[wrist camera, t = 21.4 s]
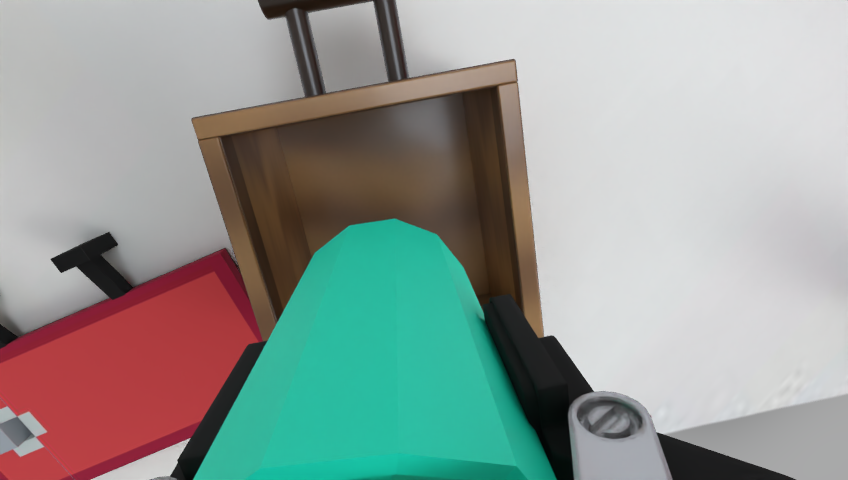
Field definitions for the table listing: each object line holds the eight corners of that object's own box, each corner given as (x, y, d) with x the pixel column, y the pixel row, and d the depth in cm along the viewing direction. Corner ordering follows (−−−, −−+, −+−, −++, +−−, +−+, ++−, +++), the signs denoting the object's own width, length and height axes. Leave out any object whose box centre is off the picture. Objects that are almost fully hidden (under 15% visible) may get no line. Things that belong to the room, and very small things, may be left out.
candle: (403, 398, 17) (426, 1012, 5) (267, 317, 16) (-85, 911, 4) (502, 281, 16) (795, 748, 4) (365, 182, 14) (255, 482, 3)
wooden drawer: (236, 21, 24) (139, -32, 15) (459, -19, 25) (500, -96, 15) (322, 331, 30) (290, 431, 21) (501, 296, 30) (549, 380, 21)
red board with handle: (-221, 376, 28) (-53, 528, 33) (-284, 404, 26) (-91, 566, 30) (196, 194, 27) (307, 378, 32) (175, 204, 25) (301, 403, 29)
